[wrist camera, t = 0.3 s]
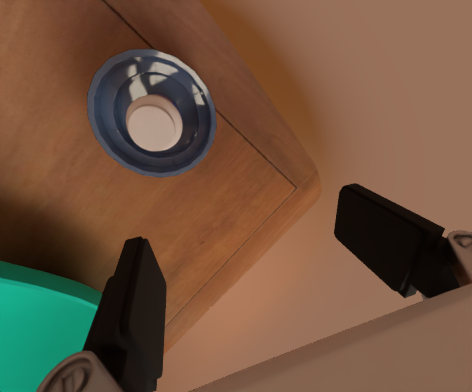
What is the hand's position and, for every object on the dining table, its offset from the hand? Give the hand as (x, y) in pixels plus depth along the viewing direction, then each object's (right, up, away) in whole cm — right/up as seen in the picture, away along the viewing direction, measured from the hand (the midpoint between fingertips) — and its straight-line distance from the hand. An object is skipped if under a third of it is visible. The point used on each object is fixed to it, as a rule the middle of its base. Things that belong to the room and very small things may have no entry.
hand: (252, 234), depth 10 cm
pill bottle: (-11, +12, +17) cm, 23 cm away
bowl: (-11, +12, +17) cm, 24 cm away
